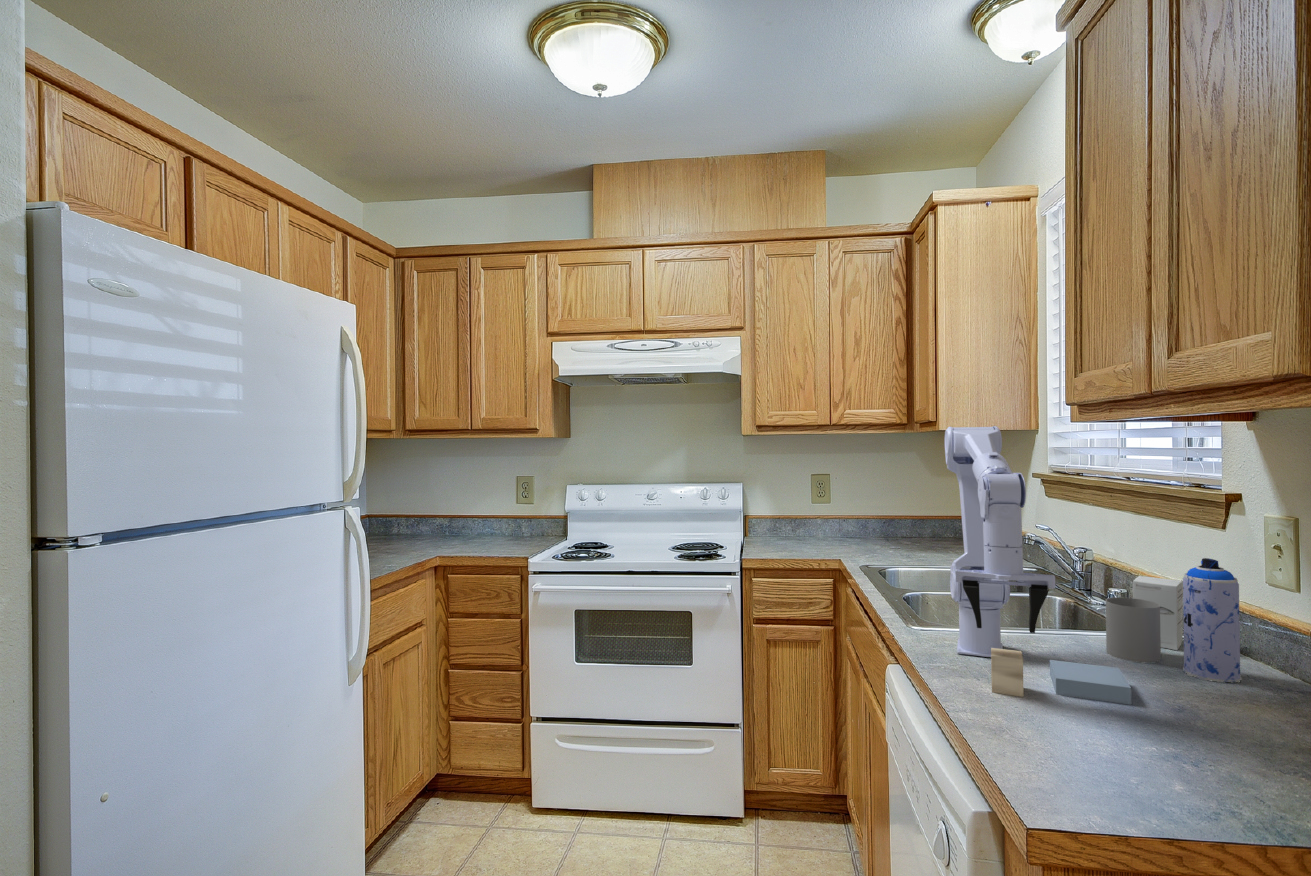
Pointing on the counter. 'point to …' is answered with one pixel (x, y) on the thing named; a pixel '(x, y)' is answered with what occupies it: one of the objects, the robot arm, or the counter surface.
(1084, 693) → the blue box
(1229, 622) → the aerosol can
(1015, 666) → the birch block
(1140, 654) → the cup
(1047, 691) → the counter surface
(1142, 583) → the supplement box
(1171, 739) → the counter surface
